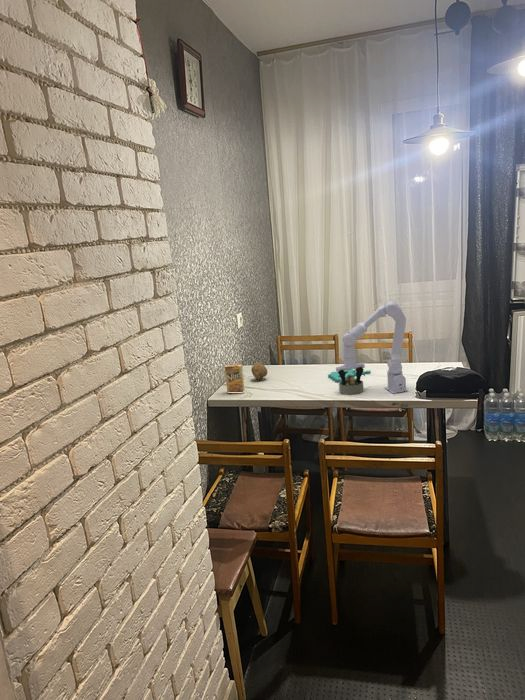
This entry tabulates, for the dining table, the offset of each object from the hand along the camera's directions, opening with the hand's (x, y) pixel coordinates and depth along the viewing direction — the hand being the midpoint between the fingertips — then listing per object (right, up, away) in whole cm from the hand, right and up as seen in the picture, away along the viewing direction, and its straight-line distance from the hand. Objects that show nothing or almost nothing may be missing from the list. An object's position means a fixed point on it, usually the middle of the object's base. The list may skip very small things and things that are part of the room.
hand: (351, 383), depth 250 cm
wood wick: (0, -3, +1) cm, 3 cm away
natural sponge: (-46, -1, +35) cm, 58 cm away
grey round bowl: (0, -4, +1) cm, 4 cm away
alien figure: (+2, +1, +24) cm, 24 cm away
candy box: (-59, -6, +15) cm, 61 cm away
